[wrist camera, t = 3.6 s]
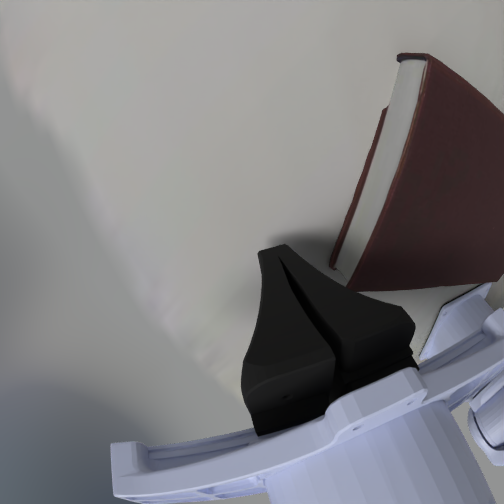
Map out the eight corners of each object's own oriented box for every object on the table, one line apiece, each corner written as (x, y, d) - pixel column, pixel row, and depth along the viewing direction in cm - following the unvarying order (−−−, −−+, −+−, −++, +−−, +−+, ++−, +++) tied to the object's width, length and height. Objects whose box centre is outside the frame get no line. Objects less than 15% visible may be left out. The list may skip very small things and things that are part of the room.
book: (391, 46, 11) (439, 52, 8) (531, 152, 16) (557, 169, 14) (320, 259, 17) (344, 298, 15) (479, 265, 23) (499, 286, 21)
